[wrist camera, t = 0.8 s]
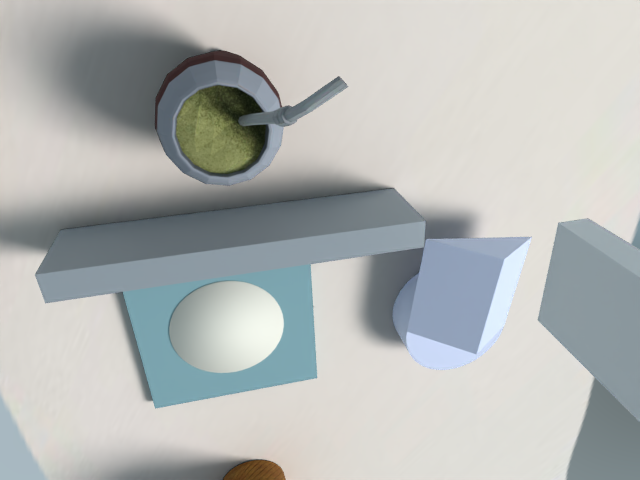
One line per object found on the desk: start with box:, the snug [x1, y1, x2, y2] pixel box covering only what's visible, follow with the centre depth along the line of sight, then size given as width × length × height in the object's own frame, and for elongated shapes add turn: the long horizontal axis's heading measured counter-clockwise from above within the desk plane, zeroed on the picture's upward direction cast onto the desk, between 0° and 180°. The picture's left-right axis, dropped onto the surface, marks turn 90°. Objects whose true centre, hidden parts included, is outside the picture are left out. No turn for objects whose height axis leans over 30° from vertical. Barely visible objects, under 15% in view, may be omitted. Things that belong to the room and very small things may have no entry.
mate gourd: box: [155, 50, 348, 186], centre depth 25 cm, size 8×8×15 cm
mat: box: [123, 264, 317, 408], centre depth 39 cm, size 14×14×1 cm
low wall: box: [35, 188, 426, 303], centre depth 33 cm, size 2×24×6 cm, turn 92°
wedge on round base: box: [393, 237, 532, 370], centre depth 40 cm, size 9×7×13 cm
